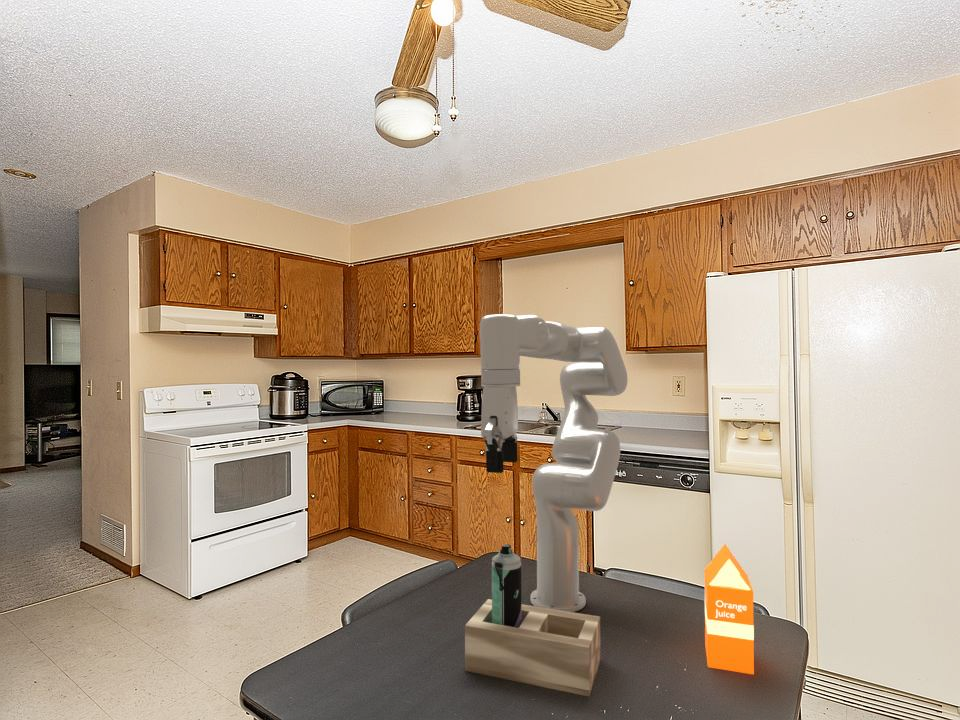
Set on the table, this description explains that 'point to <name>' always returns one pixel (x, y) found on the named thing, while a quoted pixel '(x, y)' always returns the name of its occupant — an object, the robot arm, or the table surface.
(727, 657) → the orange juice
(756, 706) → the table surface
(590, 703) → the table surface
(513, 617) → the spray can
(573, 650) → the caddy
